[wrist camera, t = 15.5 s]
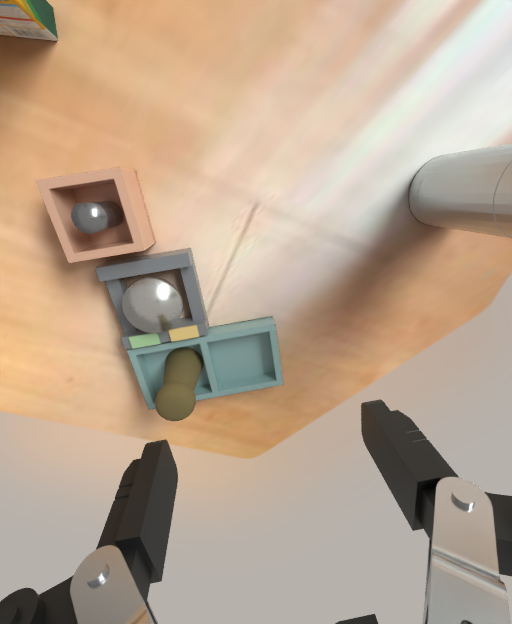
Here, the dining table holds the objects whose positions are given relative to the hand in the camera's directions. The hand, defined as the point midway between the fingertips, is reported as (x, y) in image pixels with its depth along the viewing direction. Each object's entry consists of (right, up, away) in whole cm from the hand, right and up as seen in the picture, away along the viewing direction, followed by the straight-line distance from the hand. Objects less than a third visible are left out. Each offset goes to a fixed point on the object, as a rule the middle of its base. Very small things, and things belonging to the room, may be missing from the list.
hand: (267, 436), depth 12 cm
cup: (-19, +18, +27) cm, 37 cm away
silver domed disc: (-15, +7, +30) cm, 34 cm away
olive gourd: (-12, -3, +35) cm, 38 cm away
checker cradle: (-15, +8, +31) cm, 35 cm away
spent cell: (-19, +18, +26) cm, 37 cm away
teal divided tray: (-8, -3, +36) cm, 37 cm away
